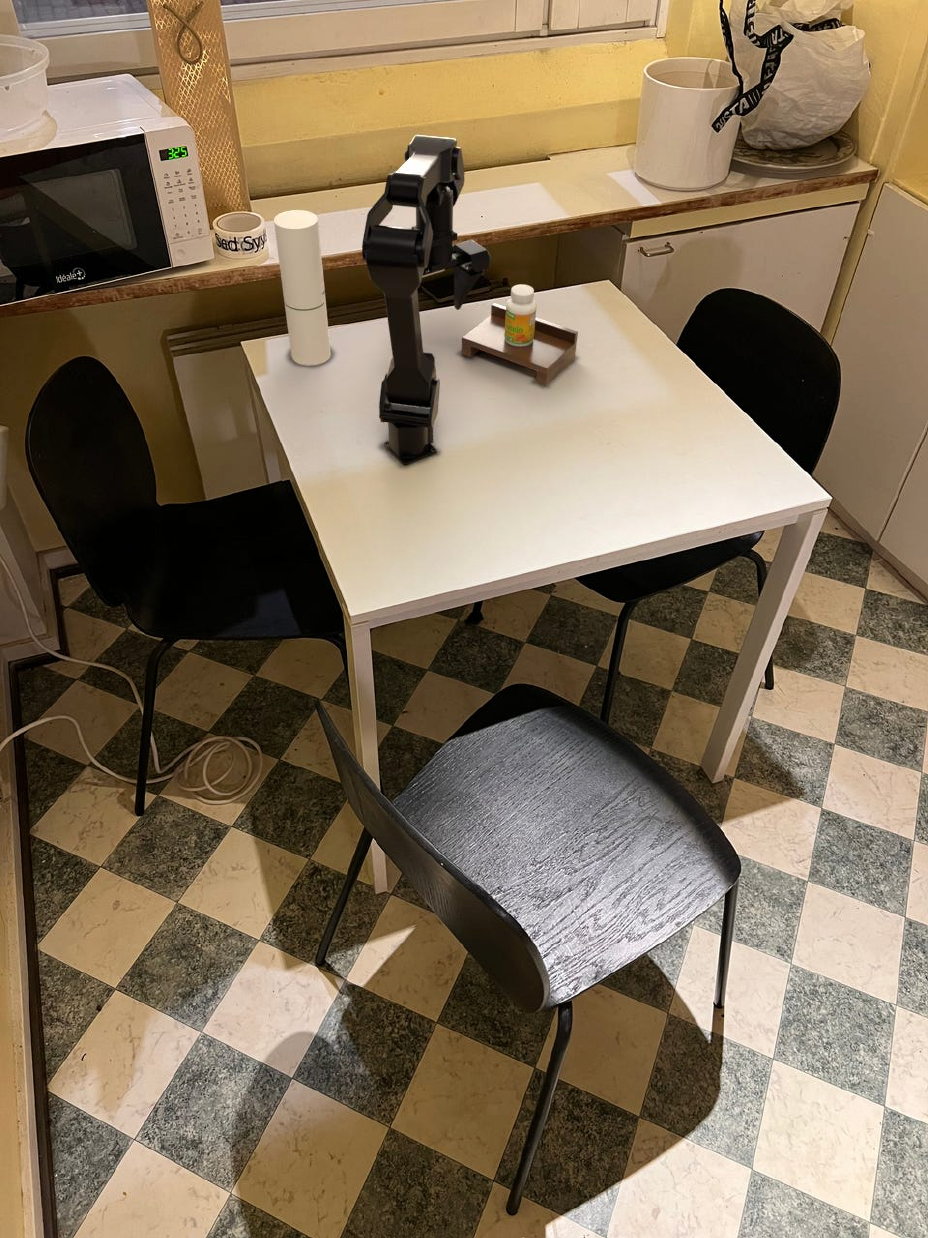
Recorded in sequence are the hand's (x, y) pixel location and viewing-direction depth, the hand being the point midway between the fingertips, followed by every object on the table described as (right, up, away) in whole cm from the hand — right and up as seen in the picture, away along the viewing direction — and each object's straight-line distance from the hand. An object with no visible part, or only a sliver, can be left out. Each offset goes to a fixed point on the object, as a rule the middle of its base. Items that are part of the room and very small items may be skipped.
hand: (434, 315), depth 153 cm
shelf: (+15, -2, +16) cm, 22 cm away
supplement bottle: (+15, 0, +14) cm, 20 cm away
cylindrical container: (-23, -2, +15) cm, 28 cm away
